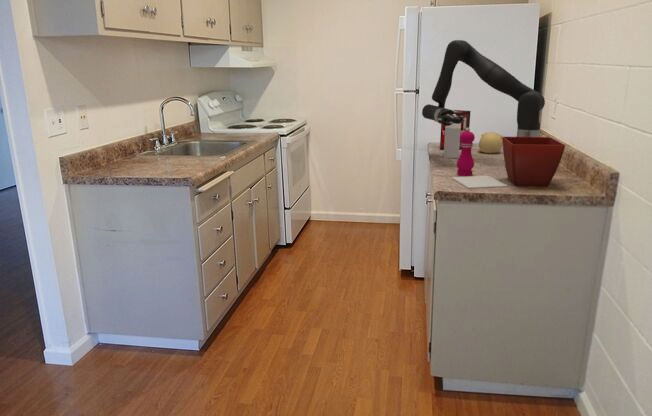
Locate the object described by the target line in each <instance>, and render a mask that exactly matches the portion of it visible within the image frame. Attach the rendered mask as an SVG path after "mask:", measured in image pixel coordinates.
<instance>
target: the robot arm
mask: <svg viewBox="0 0 652 416" xmlns="http://www.w3.org/2000/svg"><path fill="white" fill-rule="evenodd" d="M459 62H461V63H463V64H465V65H466V66H468V67H470V68H471V69H472V70H473V71H474V72H475V74H476V76H478V77H479V78H480V80H481V81H482V82H484V83H485V84H487V85H488V86H489V87H491V88H492V89H494V90H496V91H498V92H500V93H502V94H504V95H507V96H509V97H511V98H513V99H514V100H515V101H517V110H516V111H517V112H516V123H517V131H516V137H540V130H541V122H540V120H539V119H540V111H541V110H543V108H544V107H545V105H546V100H545V97H544V96H543V94H542V93H541V92H539V91H537V90H535V89H533V88H531V87H529V86H527V85H526V84H525V83H523V82H521V81H520V80H519V79H518V78H516V77H515V76H514V75H512V74H511V73H510V72H509V71H508V70H506V69H505V68H504V67H502V66H501V65H499V64H497V63H496V62H495V61H493V60H491V59H490V58H488V57H487V56H485V55H483V54H482V53H480V52H479V51H478V50H476V48H474V46H473V45H471V44H470V42H468V41H466V40H464V39H463V40H462V39H460V40H459V39H458V40H457V39H456V40H452V41H450V42H449V43H448V44H447V46H446V49H445V52H444V57H443V63H442V66H441V69H440V74H439V77H438V80H437V82H436V85H435V88H434V90H433V93H432V95H431V100H432V101H433V102H436V103H437V104H438V105H434V104H428V103H427V104H426V105H424V106H423V107H422V111H421V115H422V117H423V118H424V119H428V120H432V121H434V122H435V123H436V122H437V123H438V124H440V125H441V124H442V125H445V126H450V125H452V124H453V123H456V124H460V123H462V122H464V119H465V116H460V117H459V116H457V115H455V113H454V111H453V109H449V108H445V106H446V101H447V98H448V96H449V94H450V91H451V88H452V82H453V75H454V71H455V69H456V66H457V65H458V63H459Z"/></svg>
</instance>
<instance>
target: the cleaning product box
mask: <svg viewBox="0 0 652 416" xmlns="http://www.w3.org/2000/svg"><path fill="white" fill-rule="evenodd" d="M452 111H454V113H455V115H457V116H459V117H460V116H465V119H464V122H462V123H461V131H460V135H461V133H463V132H465V131H466V128H470V124H471V122H470V121H471V113H472V112H471V110H463V109H462V110H460V109H458V110H457V109H454V110H453V109H452ZM439 138H440V140H439V141H440V142H439V151H444V142H445V125H442V124H440V137H439ZM461 143H462V142H461V141H460V145H461ZM460 150H461V146H459V151H460Z"/></svg>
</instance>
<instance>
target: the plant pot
mask: <svg viewBox="0 0 652 416" xmlns="http://www.w3.org/2000/svg"><path fill="white" fill-rule="evenodd" d="M502 138H503V144H502V152H503V153H502V154H503V159H504V160H503V161H504V167H505V171H506V175H507V178H508V180H509V181H510V182H511V183H512V184H513V185H514V186H525V187H529V186H530V187H548V186H549V185H550V183H551V182H552V180H553V178H554V176H555V175H556V172H557V170H558V168H559V165H560V162H561V160H562V157H563V154H564V151H565V148H566V144H564V143H562V141H561V142H560V141H558V140H557V139H555V138H553V137H549V136H546V137H545V136H544V137H543V136H539V137H517V136H503V137H502Z"/></svg>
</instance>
